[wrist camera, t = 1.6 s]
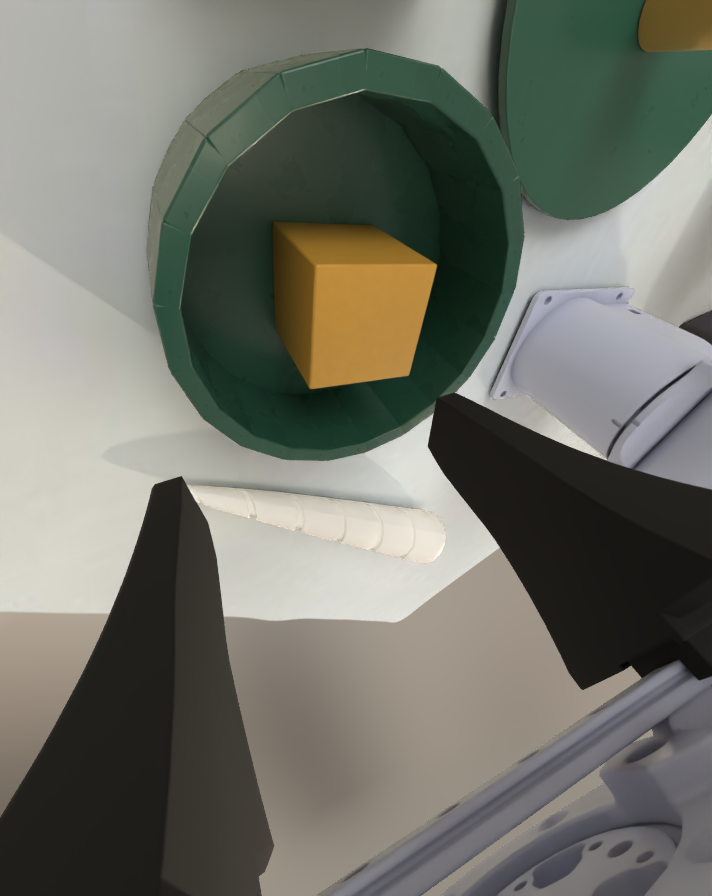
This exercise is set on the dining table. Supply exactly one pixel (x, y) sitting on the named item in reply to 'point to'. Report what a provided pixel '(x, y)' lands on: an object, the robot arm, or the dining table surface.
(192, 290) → the tin
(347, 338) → the block
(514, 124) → the tin lid
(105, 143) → the dining table surface
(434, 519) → the unicorn horn
